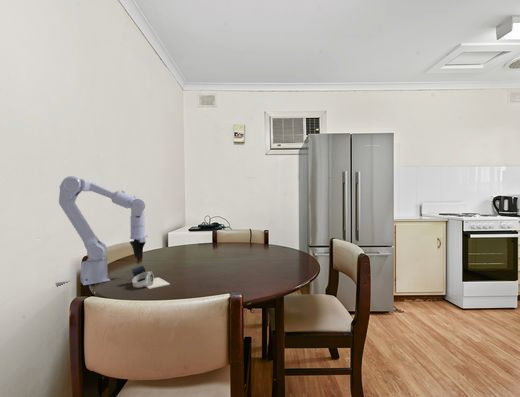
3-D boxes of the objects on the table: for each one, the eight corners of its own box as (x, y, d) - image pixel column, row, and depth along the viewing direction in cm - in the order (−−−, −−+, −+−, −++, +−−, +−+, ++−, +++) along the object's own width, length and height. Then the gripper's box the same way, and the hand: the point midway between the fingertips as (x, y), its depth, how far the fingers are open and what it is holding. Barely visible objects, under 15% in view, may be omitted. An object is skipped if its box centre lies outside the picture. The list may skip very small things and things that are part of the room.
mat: (149, 289, 104) (149, 287, 104) (139, 282, 113) (139, 281, 113) (169, 284, 109) (169, 283, 109) (158, 278, 118) (158, 277, 118)
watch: (150, 276, 116) (157, 285, 107) (130, 283, 112) (136, 294, 103) (147, 263, 115) (154, 272, 106) (126, 271, 111) (132, 280, 102)
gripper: (152, 226, 119) (152, 258, 119) (142, 224, 130) (142, 253, 130) (135, 227, 114) (135, 260, 114) (125, 225, 126) (126, 255, 125)
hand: (137, 257), depth 122 cm, fingers closed
